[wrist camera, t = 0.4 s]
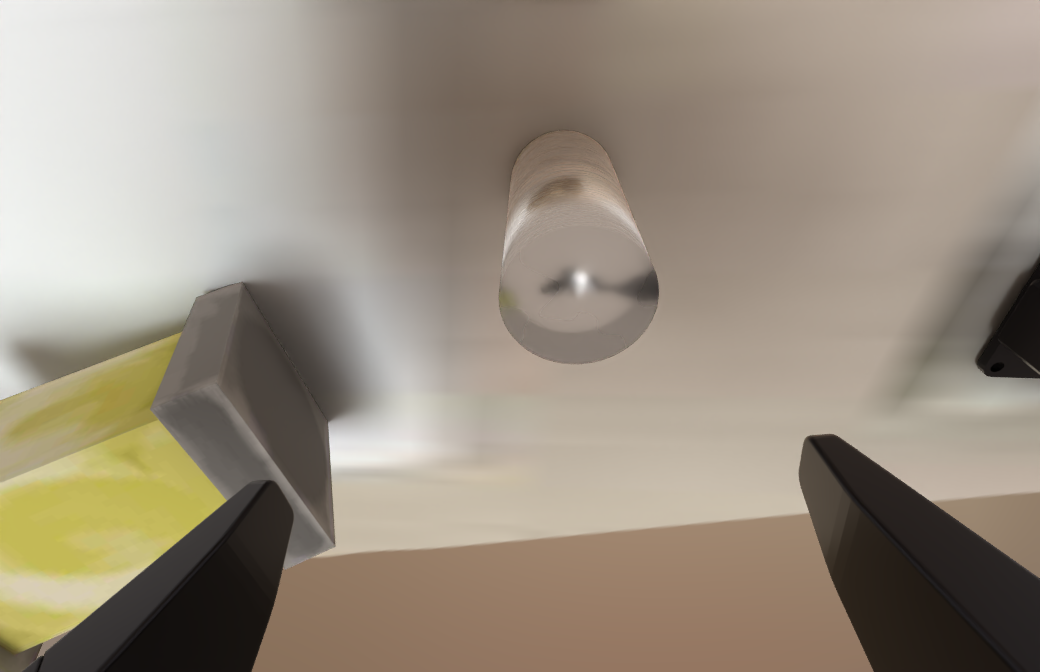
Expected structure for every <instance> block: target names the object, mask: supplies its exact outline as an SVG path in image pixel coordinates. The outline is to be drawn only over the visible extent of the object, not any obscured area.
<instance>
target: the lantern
mask: <svg viewBox="0 0 1040 672" xmlns="http://www.w3.org/2000/svg"><path fill="white" fill-rule="evenodd" d="M258 480H274V481H275V482H277V483H278V485H279V486H280V488H281V490H282V491H283V493H284V495H285V496H286V498H287V500H288V501H289V503H290V505H291V506H292V508H293V512H294V522H293V527H292V531H291V536H290V540H289V544H288V548H287V553H286V557H285V561H284V566H283V568H284V569H288V568H290V567H292V566H294V565H296V564H298V563H301V562H303V561H305V560H307V559H310V558H312V557H314V556H316V555H318V554H320V553H323V552H325V551H327V550H329V549H331V548H334V547H335V531H334V514H333V498H332V481H331V465H330V448H329V432H328V422H327V420H326V418H325V417H324V415H323V413H322V412H321V410H320V408H319V407H318V405H317V403H316V402H315V400H314V399H313V397H312V395H311V394H310V392H309V390H308V389H307V387H306V385H305V384H304V382H303V381H302V379H301V377H300V376H299V374H298V372H297V371H296V369H295V367H294V366H293V364H292V363H291V361H290V359H289V358H288V356H287V354H286V353H285V351H284V349H283V348H282V346H281V345H280V343H279V341H278V340H277V338H276V336H275V335H274V333H273V331H272V330H271V328H270V327H269V325H268V323H267V322H266V320H265V318H264V317H263V315H262V313H261V312H260V310H259V308H258V307H257V305H256V304H255V302H254V300H253V299H252V297H251V295H250V294H249V292H248V290H247V289H246V287H245V286H244V284H243V282H239V283H235V284H232V285H229V286H226V287H223V288H221V289H218V290H215V291H213V292H210V293H207V294H205V295H202V296H199V297H197V298H196V299H195V302H194V304H193V307H192V309H191V311H190V314H189V316H188V319H187V321H186V324H185V326H184V328H183V331H182V332H180V333H177V334H175V335H172V336H169V337H167V338H164V339H161V340H159V341H156V342H153V343H151V344H148V345H145V346H143V347H140V348H138V349H135V350H132V351H130V352H127V353H124V354H122V355H119V356H116V357H114V358H111V359H109V360H106V361H103V362H101V363H98V364H95V365H93V366H90V367H87V368H85V369H82V370H79V371H77V372H74V373H72V374H69V375H66V376H64V377H61V378H58V379H56V380H53V381H50V382H48V383H45V384H43V385H40V386H37V387H35V388H32V389H29V390H27V391H24V392H21V393H19V394H16V395H13V396H11V397H8V398H6V399H3V400H0V672H22V671H23V670H24V669H25V668H26V667H28V666H29V665H30V664H31V663H32V662H34V661H35V660H36V658H37V656H38V653H39V651H40V649H41V646H42V644H43V642H45V641H47V640H49V639H52V638H54V637H56V636H58V635H61V634H63V633H65V632H67V631H69V630H72V629H73V628H75V627H76V626H77V625H78V624H79V623H81V622H82V621H83V620H84V619H85V618H87V617H88V616H89V615H90V614H91V613H93V612H94V611H95V610H96V609H97V608H99V607H100V606H101V605H102V604H103V603H105V602H106V601H107V600H108V599H109V598H111V597H112V596H113V595H114V594H115V593H117V592H118V591H119V590H120V589H121V588H123V587H124V586H125V585H126V584H127V583H129V582H130V581H131V580H132V579H134V578H135V577H136V576H137V575H138V574H140V573H141V572H142V571H143V570H144V569H146V568H147V567H148V566H149V565H150V564H152V563H153V562H154V561H155V560H156V559H158V558H159V557H160V556H161V555H162V554H164V553H165V552H166V551H167V550H168V549H170V548H171V547H172V546H173V545H174V544H176V543H177V542H178V541H179V540H180V539H182V538H183V537H184V536H185V535H186V534H188V533H189V532H190V531H191V530H192V529H194V528H195V527H196V526H197V525H198V524H200V523H201V522H202V521H203V520H204V519H206V518H207V517H208V516H209V515H210V514H212V513H213V512H214V511H215V510H216V509H218V508H219V507H220V506H221V505H222V504H224V503H225V502H226V501H227V500H228V499H230V498H231V497H232V496H233V495H234V494H236V493H237V492H238V491H239V490H240V489H242V488H243V487H244V486H245V485H247V484H248V483H250V482H252V481H258Z"/></svg>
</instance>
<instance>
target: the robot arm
mask: <svg viewBox="0 0 1040 672" xmlns="http://www.w3.org/2000/svg"><path fill="white" fill-rule="evenodd" d="M977 367H978V368H979V369H980V370H981V371H982V372H983V373H984V374H985V375H986V376H990V377H1013V378H1040V264H1039V265H1038V267H1037V269H1036V270H1035V272H1034V273H1033V275H1032V276H1031V278H1030V280H1029V281H1028V283H1027V284H1026V286H1025V288H1024V289H1023V291H1022V292H1021V294H1020V296H1019V297H1018V299H1017V300H1016V302H1015V304H1014V305H1013V307H1012V308H1011V310H1010V311H1009V313H1008V315H1007V316H1006V318H1005V319H1004V321H1003V323H1002V324H1001V326H1000V327H999V329H998V331H997V332H996V334H995V335H994V337H993V339H992V340H991V342H990V343H989V345H988V346H987V348H986V350H985V351H984V353H983V354H982V356H981V358H980V359H979V361H978V363H977ZM799 481H800V486H801V489H802V492H803V495H804V498H805V501H806V504H807V507H808V510H809V513H810V516H811V519H812V522H813V525H814V528H815V531H816V534H817V537H818V540H819V543H820V546H821V550H822V553H823V556H824V558H825V562H826V564H827V567H828V570H829V573H830V576H831V578H832V581H833V583H834V585H835V588H836V590H837V592H838V595H839V597H840V599H841V601H842V603H843V605H844V608H845V610H846V612H847V614H848V617H849V619H850V621H851V623H852V625H853V627H854V630H855V632H856V634H857V636H858V638H859V640H860V643H861V645H862V647H863V649H864V651H865V654H866V656H867V658H868V660H869V662H870V664H871V667H872V669H873V671H874V672H1040V578H1038V577H1037V576H1035V575H1034V574H1033V573H1031V572H1030V571H1028V570H1027V569H1026V568H1024V567H1023V566H1021V565H1020V564H1018V563H1017V562H1016V561H1014V560H1013V559H1011V558H1010V557H1009V556H1007V555H1006V554H1004V553H1003V552H1001V551H1000V550H999V549H997V548H995V547H994V546H993V545H991V544H990V543H989V542H987V541H986V540H984V539H983V538H981V537H980V536H979V535H977V534H976V533H974V532H973V531H972V530H970V529H969V528H967V527H966V526H965V525H963V524H962V523H960V522H959V521H958V520H956V519H955V518H953V517H952V516H950V515H949V514H948V513H946V512H945V511H943V510H942V509H940V508H939V507H938V506H936V505H935V504H933V503H932V502H931V501H929V500H928V499H926V498H925V497H923V496H922V495H921V494H919V493H918V492H916V491H915V490H914V489H912V488H911V487H909V486H908V485H906V484H905V483H904V482H902V481H901V480H899V479H898V478H897V477H895V476H894V475H892V474H891V473H889V472H888V471H887V470H885V469H884V468H882V467H881V466H880V465H878V464H877V463H875V462H874V461H872V460H871V459H870V458H868V457H867V456H865V455H864V454H863V453H861V452H860V451H858V450H857V449H855V448H854V447H853V446H851V445H850V444H848V443H847V442H846V441H844V440H843V439H841V438H840V437H838V436H836V435H834V434H822V435H810V436H807V437H806V438H805V440H804V443H803V449H802V455H801V461H800V467H799ZM293 522H294V512H293V508H292V506H291V505H290V503H289V501H288V500H287V498H286V496H285V495H284V493H283V491H282V490H281V488H280V486H279V485H278V483H277V482H275V481H274V480H258V481H252V482H250V483H248V484H247V485H245V486H244V487H243V488H242V489H240V490H239V491H238V492H237V493H236V494H234V495H233V496H232V497H231V498H230V499H228V500H227V501H226V502H225V503H224V504H222V505H221V506H220V507H219V508H218V509H216V510H215V511H214V512H213V513H212V514H210V515H209V516H208V517H207V518H206V519H204V520H203V521H202V522H201V523H200V524H198V525H197V526H196V527H195V528H194V529H192V530H191V531H190V532H189V533H188V534H186V535H185V536H184V537H183V538H182V539H180V540H179V541H178V542H177V543H176V544H174V545H173V546H172V547H171V548H170V549H168V550H167V551H166V552H165V553H164V554H162V555H161V556H160V557H159V558H158V559H156V560H155V561H154V562H153V563H152V564H150V565H149V566H148V567H147V568H146V569H144V570H143V571H142V572H141V573H140V574H138V575H137V576H136V577H135V578H134V579H132V580H131V581H130V582H129V583H127V584H126V585H125V586H124V587H123V588H121V589H120V590H119V591H118V592H117V593H115V594H114V595H113V596H112V597H111V598H109V599H108V600H107V601H106V602H105V603H103V604H102V605H101V606H100V607H99V608H97V609H96V610H95V611H94V612H93V613H91V614H90V615H89V616H88V617H87V618H85V619H84V620H83V621H82V622H81V623H79V624H78V625H77V626H76V627H75V628H73V629H72V630H71V631H70V632H69V633H67V634H66V635H65V636H64V637H63V638H61V639H60V640H59V641H58V642H57V643H55V644H54V645H53V646H52V647H51V648H49V649H48V650H47V651H46V652H45V654H44V656H40V657H38V658H37V659H36V660H35V661H34V662H32V663H31V664H30V665H29V666H28V667H26V668H25V669H24V670H23V671H22V672H252V669H253V666H254V663H255V660H256V657H257V654H258V651H259V648H260V645H261V642H262V639H263V636H264V633H265V630H266V628H267V624H268V622H269V619H270V616H271V612H272V609H273V606H274V602H275V598H276V595H277V591H278V587H279V582H280V578H281V574H282V570H283V566H284V561H285V557H286V553H287V548H288V544H289V540H290V536H291V531H292V527H293Z"/></svg>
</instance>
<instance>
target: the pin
mask: <svg viewBox="0 0 1040 672" xmlns="http://www.w3.org/2000/svg"><path fill="white" fill-rule="evenodd" d="M658 296H659V286H658V280H657V275H656V273H655V270H654V267H653V265H652V262H651V260H650V257H649V255H648V252H647V250H646V247H645V245H644V242H643V240H642V237H641V235H640V232H639V230H638V227H637V225H636V222H635V220H634V217H633V215H632V212H631V210H630V207H629V205H628V202H627V200H626V197H625V195H624V192H623V190H622V187H621V185H620V182H619V180H618V178H617V175H616V173H615V170H614V168H613V165H612V163H611V160H610V158H609V156H608V154H607V153H606V151H605V150H604V149H603V147H602V146H601V145H600V144H599V143H598V142H596V141H595V140H594V139H592V138H591V137H589V136H587V135H585V134H582V133H580V132H576V131H569V130H559V131H553V132H549V133H546V134H544V135H542V136H539V137H538V138H536V139H534V140H533V141H532V142H530V143H529V144H528V145H527V146H526V147H525V148H524V149H523V150H522V152H521V153H520V154H519V156H518V158H517V160H516V162H515V164H514V167H513V170H512V174H511V183H510V192H509V202H508V212H507V221H506V231H505V241H504V251H503V260H502V270H501V280H500V289H499V307H500V312H501V316H502V319H503V321H504V324H505V325H506V327H507V329H508V331H509V332H510V334H511V335H512V336H513V338H514V339H515V340H516V341H517V342H518V343H519V344H520V345H522V346H523V347H524V348H525V349H527V350H528V351H530V352H532V353H533V354H535V355H537V356H539V357H542V358H544V359H547V360H550V361H554V362H559V363H566V364H584V363H592V362H596V361H600V360H603V359H606V358H609V357H611V356H614V355H616V354H618V353H620V352H621V351H623V350H625V349H626V348H628V347H629V346H630V345H632V344H633V343H634V342H635V341H636V340H637V339H638V338H639V337H640V336H641V335H642V334H643V333H644V331H645V330H646V329H647V327H648V326H649V324H650V322H651V321H652V318H653V316H654V314H655V311H656V308H657V304H658Z"/></svg>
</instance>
